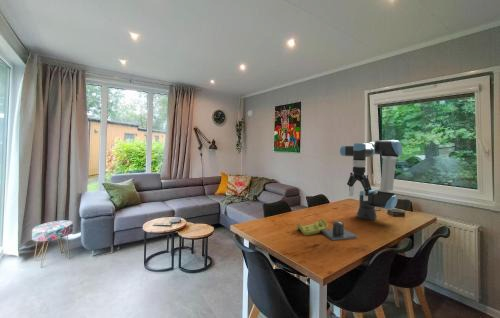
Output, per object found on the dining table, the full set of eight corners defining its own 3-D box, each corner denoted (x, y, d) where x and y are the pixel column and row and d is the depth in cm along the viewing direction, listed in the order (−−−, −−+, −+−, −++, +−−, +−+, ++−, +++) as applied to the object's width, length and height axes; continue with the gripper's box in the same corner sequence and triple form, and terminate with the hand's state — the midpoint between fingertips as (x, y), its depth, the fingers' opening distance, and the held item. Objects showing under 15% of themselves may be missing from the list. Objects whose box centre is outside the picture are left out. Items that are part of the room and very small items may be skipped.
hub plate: (343, 230, 159) (343, 221, 159) (358, 238, 145) (358, 229, 144) (320, 232, 155) (320, 223, 154) (333, 241, 140) (333, 231, 140)
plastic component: (305, 232, 147) (297, 221, 155) (303, 240, 151) (295, 229, 159) (330, 227, 154) (322, 217, 162) (327, 235, 157) (319, 224, 165)
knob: (330, 231, 152) (331, 220, 152) (339, 230, 154) (339, 220, 154) (337, 234, 146) (337, 223, 146) (345, 234, 148) (346, 223, 147)
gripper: (342, 165, 162) (341, 194, 163) (368, 168, 137) (367, 203, 139) (351, 164, 163) (350, 193, 165) (378, 168, 139) (377, 202, 141)
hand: (358, 198), depth 152 cm, fingers open, 13 cm apart
